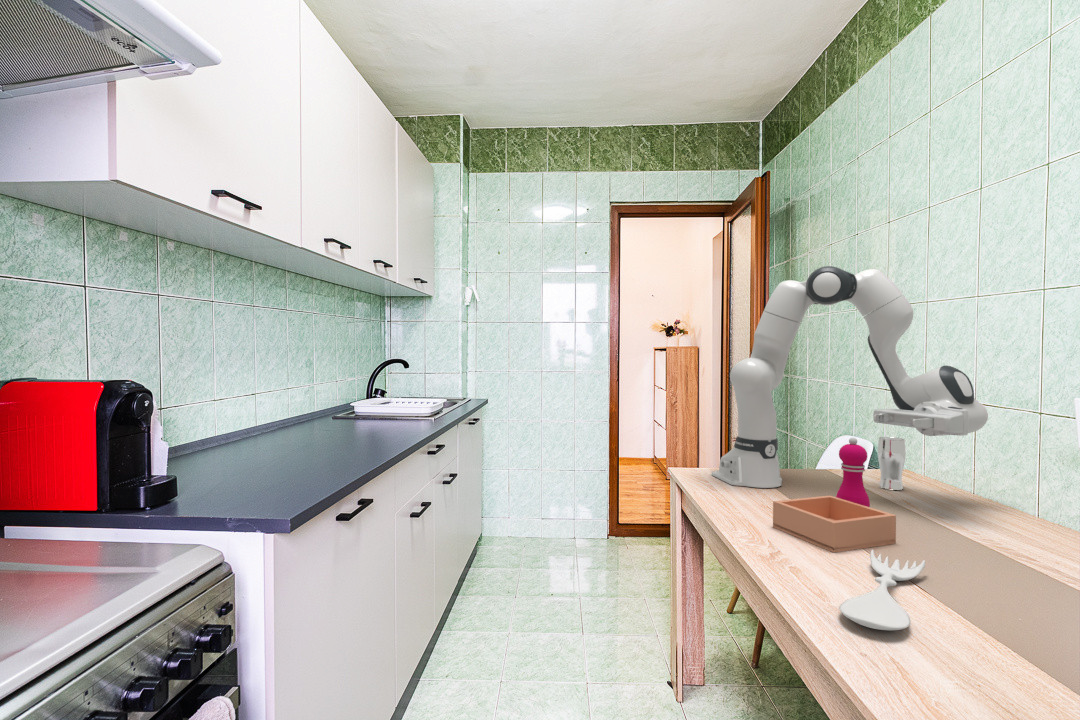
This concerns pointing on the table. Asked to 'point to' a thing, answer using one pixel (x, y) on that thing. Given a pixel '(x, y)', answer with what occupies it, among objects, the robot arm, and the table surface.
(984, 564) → the table surface
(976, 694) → the table surface
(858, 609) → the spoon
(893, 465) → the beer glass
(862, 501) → the pepper mill
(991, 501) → the table surface
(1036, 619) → the table surface
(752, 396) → the robot arm
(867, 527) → the crate
